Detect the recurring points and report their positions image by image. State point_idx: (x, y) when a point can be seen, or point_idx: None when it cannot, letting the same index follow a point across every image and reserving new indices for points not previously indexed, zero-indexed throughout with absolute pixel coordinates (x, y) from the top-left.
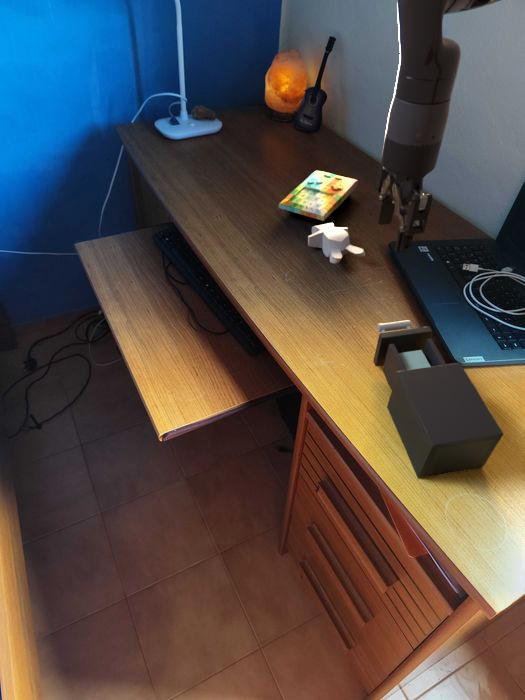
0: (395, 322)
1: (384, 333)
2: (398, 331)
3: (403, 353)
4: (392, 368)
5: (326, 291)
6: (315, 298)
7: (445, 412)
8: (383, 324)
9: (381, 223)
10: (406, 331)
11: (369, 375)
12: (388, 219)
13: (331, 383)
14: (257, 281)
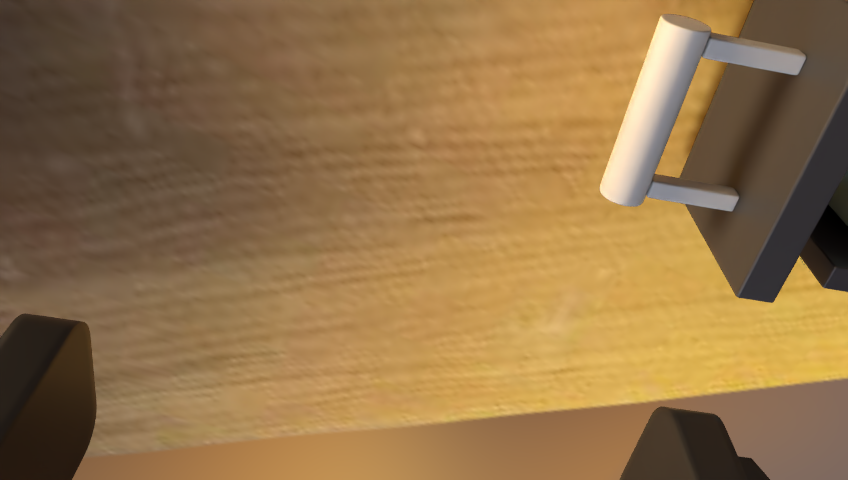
0: (653, 116)
1: (754, 279)
2: (790, 213)
3: None
4: None
5: (125, 145)
6: (171, 212)
7: None
8: (632, 183)
9: (89, 414)
10: (818, 174)
11: None
12: (60, 386)
13: (662, 339)
14: None
